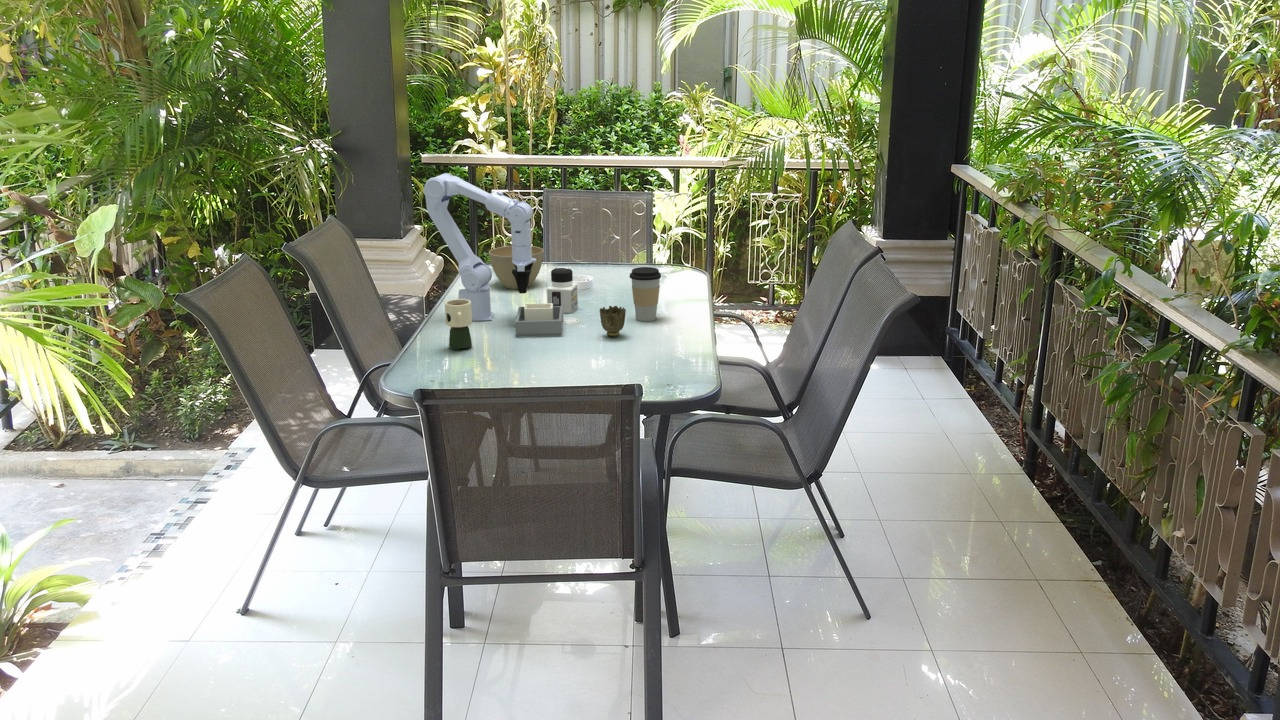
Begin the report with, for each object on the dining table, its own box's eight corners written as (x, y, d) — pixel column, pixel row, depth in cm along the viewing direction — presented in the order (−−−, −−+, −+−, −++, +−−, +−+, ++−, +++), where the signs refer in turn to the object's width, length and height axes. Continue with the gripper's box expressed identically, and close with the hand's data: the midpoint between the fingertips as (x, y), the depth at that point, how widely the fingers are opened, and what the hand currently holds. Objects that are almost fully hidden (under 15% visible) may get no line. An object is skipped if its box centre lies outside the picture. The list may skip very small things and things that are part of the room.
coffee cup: (666, 316, 321) (666, 268, 317) (653, 324, 313) (653, 274, 309) (637, 313, 325) (637, 265, 320) (624, 321, 317) (623, 272, 312)
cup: (606, 341, 298) (606, 313, 295) (595, 334, 304) (595, 307, 302) (630, 337, 301) (630, 310, 299) (619, 331, 307) (618, 304, 305)
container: (571, 313, 325) (570, 272, 321) (547, 312, 327) (545, 271, 323) (578, 307, 333) (577, 266, 328) (554, 306, 334) (552, 265, 330)
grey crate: (515, 337, 303) (515, 321, 301) (519, 321, 318) (519, 306, 316) (561, 336, 303) (561, 320, 302) (563, 320, 318) (563, 306, 317)
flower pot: (555, 283, 361) (554, 248, 357) (522, 295, 347) (520, 258, 343) (513, 277, 370) (512, 242, 367) (479, 288, 356) (477, 252, 352)
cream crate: (525, 328, 307) (524, 308, 306) (526, 323, 313) (525, 303, 311) (552, 328, 308) (552, 308, 306) (553, 323, 313) (552, 303, 311)
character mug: (446, 343, 298) (443, 297, 294) (472, 341, 299) (469, 296, 295) (448, 354, 288) (445, 308, 284) (475, 352, 289) (472, 306, 285)
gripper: (534, 249, 305) (535, 295, 309) (536, 239, 319) (538, 283, 323) (509, 250, 305) (511, 296, 309) (512, 239, 318) (515, 283, 323)
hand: (523, 289), depth 316 cm, fingers open, 7 cm apart
